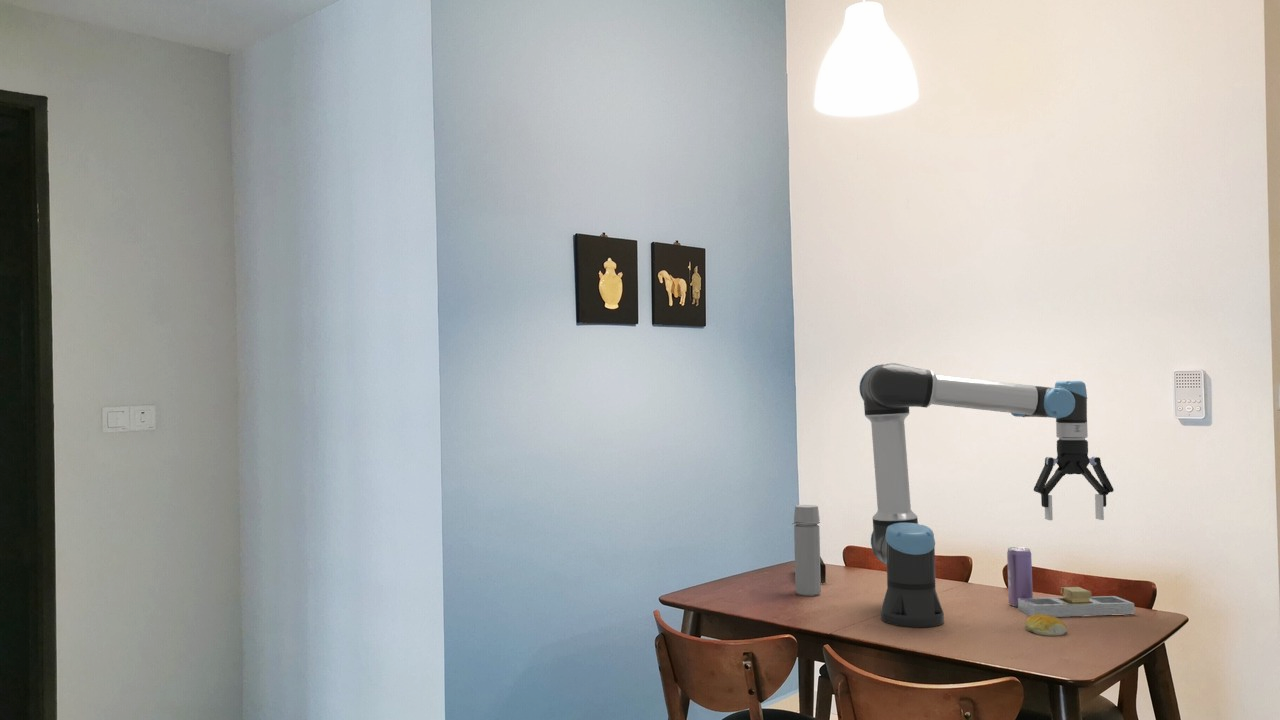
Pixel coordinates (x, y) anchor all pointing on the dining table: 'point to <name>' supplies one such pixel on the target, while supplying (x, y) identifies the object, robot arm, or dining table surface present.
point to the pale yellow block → (1075, 595)
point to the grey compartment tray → (1075, 606)
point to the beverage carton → (822, 571)
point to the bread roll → (1045, 625)
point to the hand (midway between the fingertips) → (1074, 519)
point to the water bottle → (807, 550)
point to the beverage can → (1019, 574)
